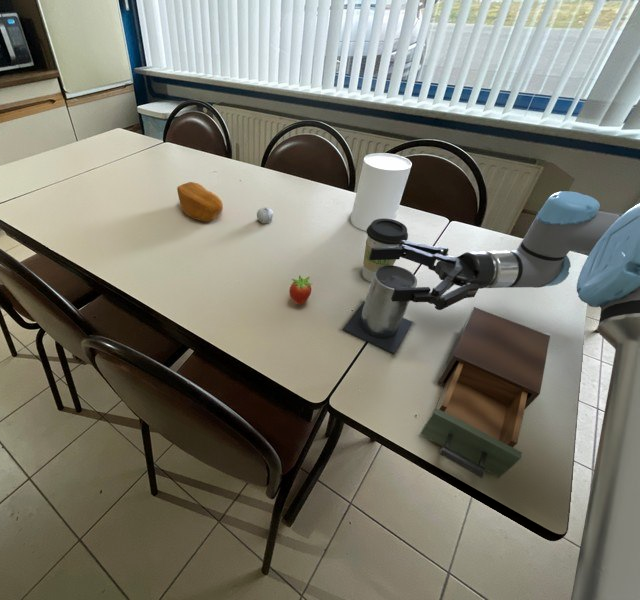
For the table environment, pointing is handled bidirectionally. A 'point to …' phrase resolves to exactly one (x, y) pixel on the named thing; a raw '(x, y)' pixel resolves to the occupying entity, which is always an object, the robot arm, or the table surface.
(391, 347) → the mat
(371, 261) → the coffee cup
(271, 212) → the garlic
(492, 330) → the cabinet
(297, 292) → the fruit
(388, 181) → the canister
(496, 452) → the drawer
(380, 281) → the silver cylinder
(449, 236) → the table surface
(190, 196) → the bread
